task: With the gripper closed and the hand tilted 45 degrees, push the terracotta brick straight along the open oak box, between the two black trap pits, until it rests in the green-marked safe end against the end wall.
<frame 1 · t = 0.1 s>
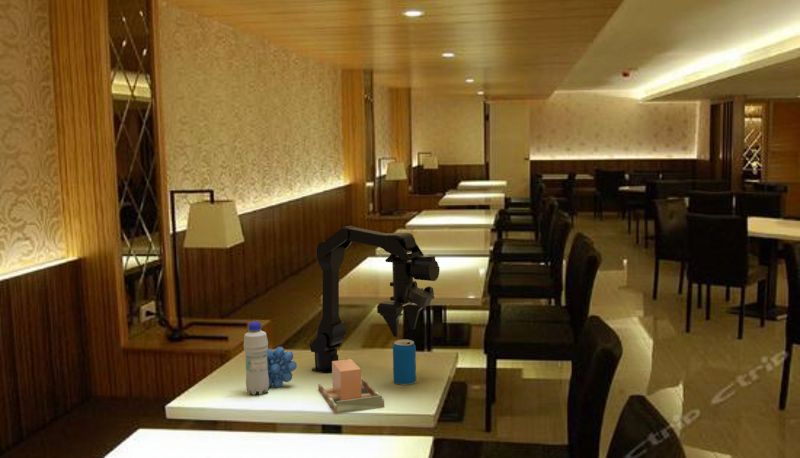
hand: (404, 332, 213), 15 cm above the table, tool pointing down, fingers open, 9 cm apart
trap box: (350, 399, 202), on the table
grapes: (277, 387, 214), on the table, touching bottle
beverage can: (405, 383, 215), on the table
bottle: (258, 393, 210), on the table, touching grapes
brick: (346, 393, 206), resting on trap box
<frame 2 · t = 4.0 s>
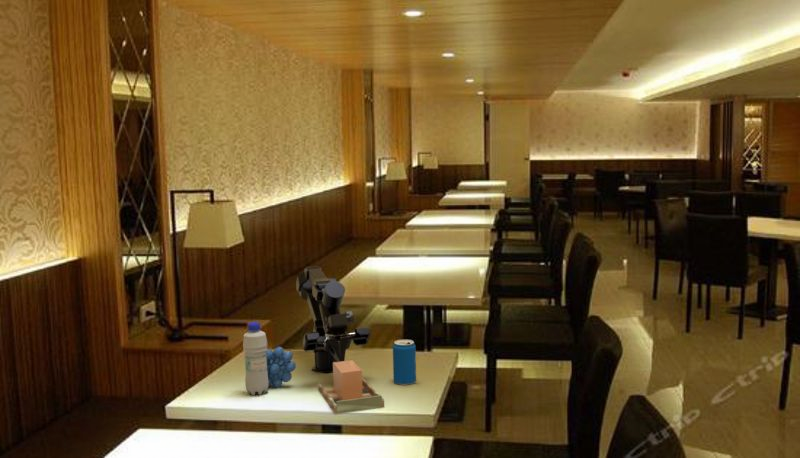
hand: (342, 365, 209), 7 cm above the table, tool tilted 45°, fingers closed
grapes: (276, 387, 214), on the table, touching bottle
bottle: (257, 393, 210), on the table, touching grapes
brick: (347, 395, 205), resting on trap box
everything else where it was.
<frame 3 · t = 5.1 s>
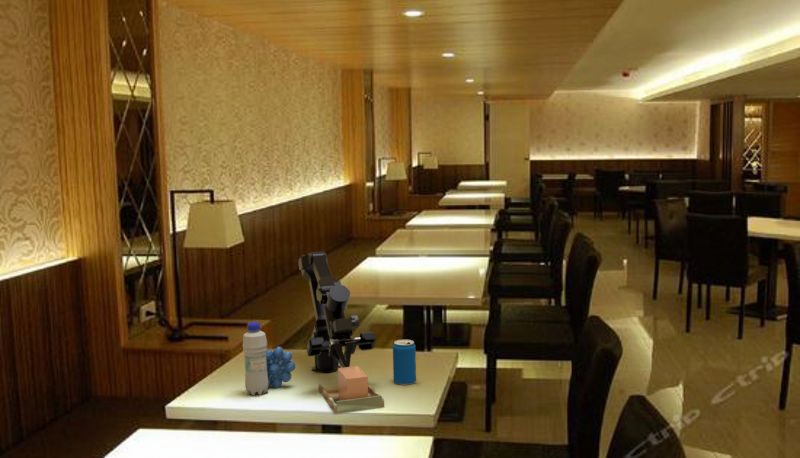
hand: (347, 370, 203), 7 cm above the table, tool tilted 45°, fingers closed, pressing on brick
brick: (353, 401, 199), point 1 cm above the table, touching gripper
everything else where it was.
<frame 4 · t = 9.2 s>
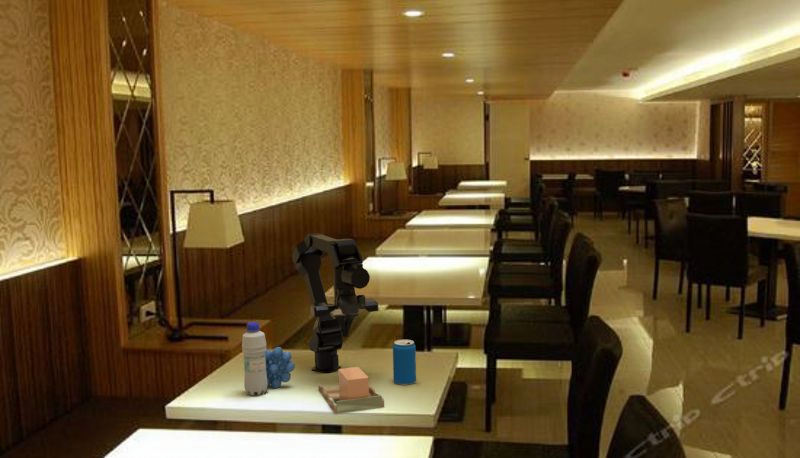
hand: (345, 336, 217), 13 cm above the table, tool pointing down, fingers closed
brick: (354, 402, 198), resting on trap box
everything else where it was.
at the end: brick 0.4 cm from the target spot on the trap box, point 0.5 cm above the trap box's base; brick tilted 0° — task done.
